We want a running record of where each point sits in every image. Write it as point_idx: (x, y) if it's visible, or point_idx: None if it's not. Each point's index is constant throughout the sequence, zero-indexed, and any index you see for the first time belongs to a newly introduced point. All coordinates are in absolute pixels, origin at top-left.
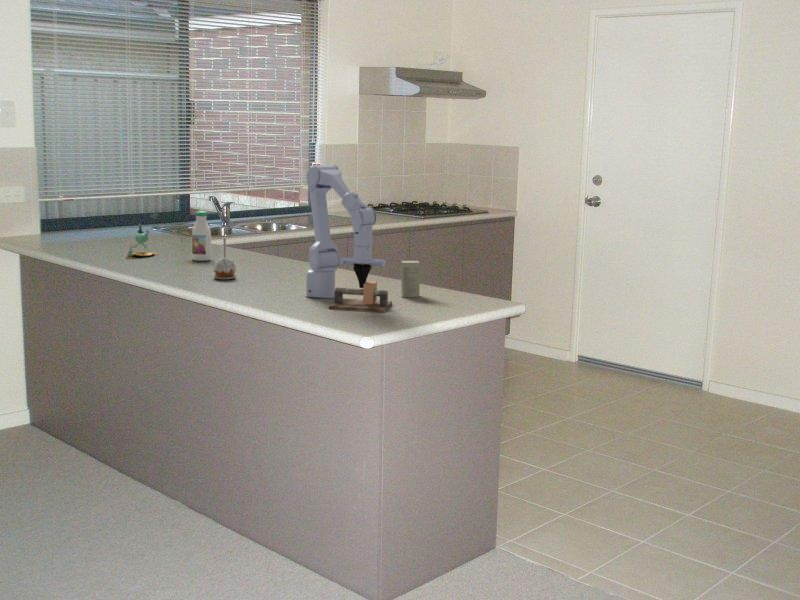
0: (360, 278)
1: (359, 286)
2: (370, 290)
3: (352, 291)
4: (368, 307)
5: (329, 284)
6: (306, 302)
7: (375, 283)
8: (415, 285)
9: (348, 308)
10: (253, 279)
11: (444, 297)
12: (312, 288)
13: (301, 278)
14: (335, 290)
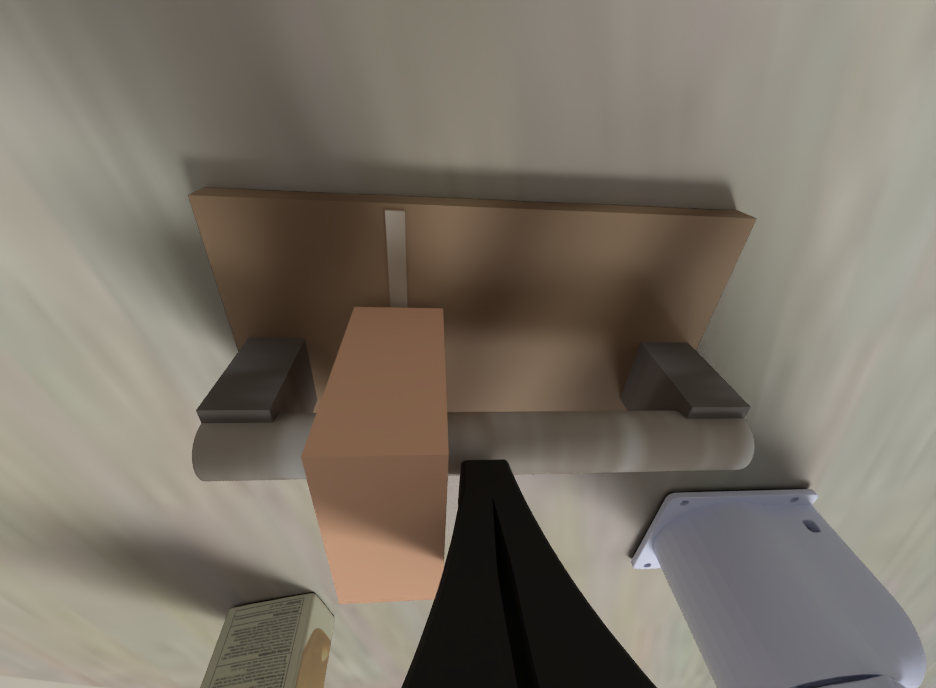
0: (516, 566)
1: (511, 471)
2: (351, 397)
3: (574, 425)
4: (375, 245)
5: (729, 582)
6: (851, 379)
7: (330, 553)
8: (222, 679)
9: (564, 206)
10: None
11: (123, 632)
12: (811, 542)
13: None
14: (742, 422)
